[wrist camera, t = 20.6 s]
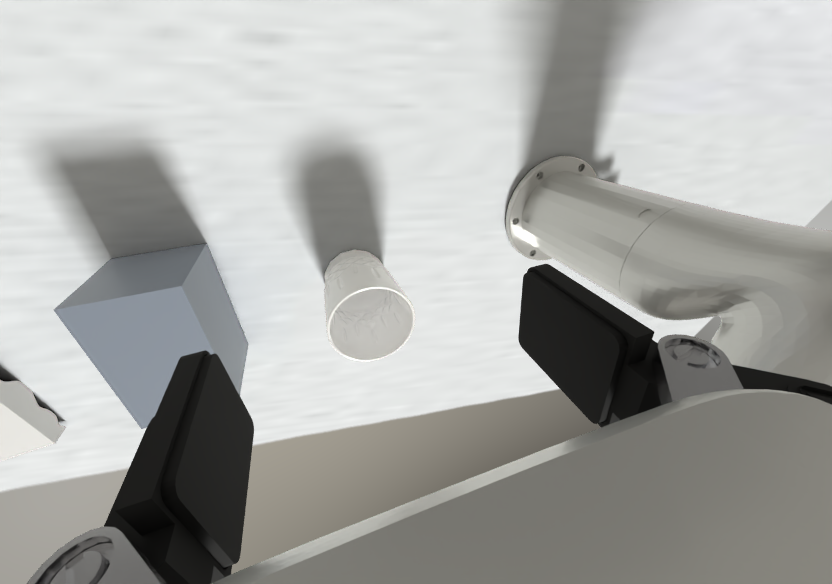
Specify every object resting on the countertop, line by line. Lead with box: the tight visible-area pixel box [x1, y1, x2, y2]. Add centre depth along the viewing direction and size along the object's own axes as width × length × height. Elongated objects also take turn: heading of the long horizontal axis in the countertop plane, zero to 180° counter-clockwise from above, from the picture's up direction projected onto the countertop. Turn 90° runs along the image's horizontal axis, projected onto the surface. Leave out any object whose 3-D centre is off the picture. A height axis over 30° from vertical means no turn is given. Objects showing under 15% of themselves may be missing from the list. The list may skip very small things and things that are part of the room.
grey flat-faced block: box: [54, 243, 248, 429], centre depth 30 cm, size 8×12×9 cm, turn 4°
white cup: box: [324, 249, 415, 361], centre depth 34 cm, size 8×8×10 cm
